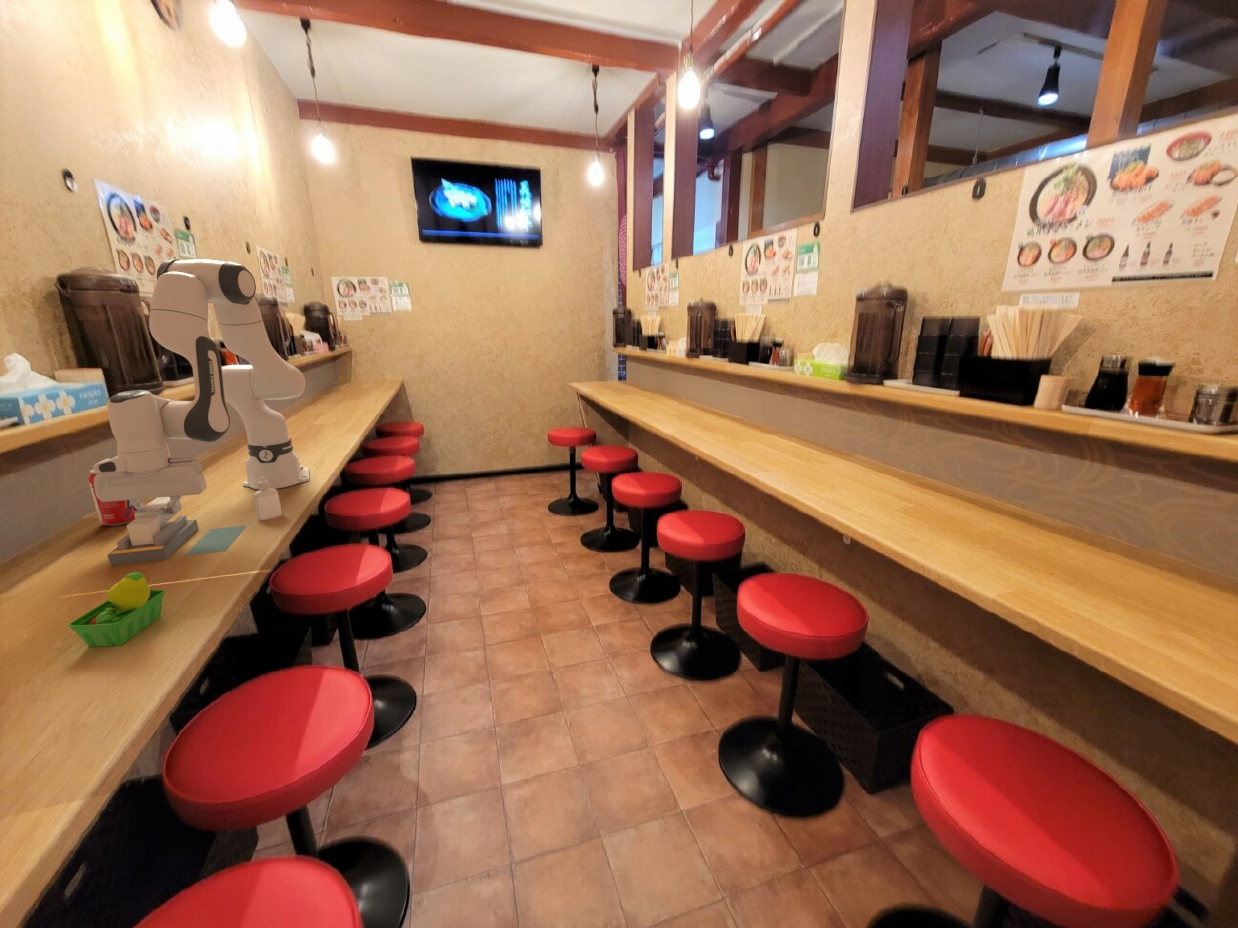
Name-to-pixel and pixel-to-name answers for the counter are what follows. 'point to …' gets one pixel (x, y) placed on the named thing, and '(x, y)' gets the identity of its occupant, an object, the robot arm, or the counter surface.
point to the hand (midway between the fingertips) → (159, 513)
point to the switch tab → (143, 530)
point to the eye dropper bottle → (266, 501)
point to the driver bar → (157, 510)
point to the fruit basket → (120, 613)
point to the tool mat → (216, 540)
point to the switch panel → (162, 547)
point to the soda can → (112, 508)
